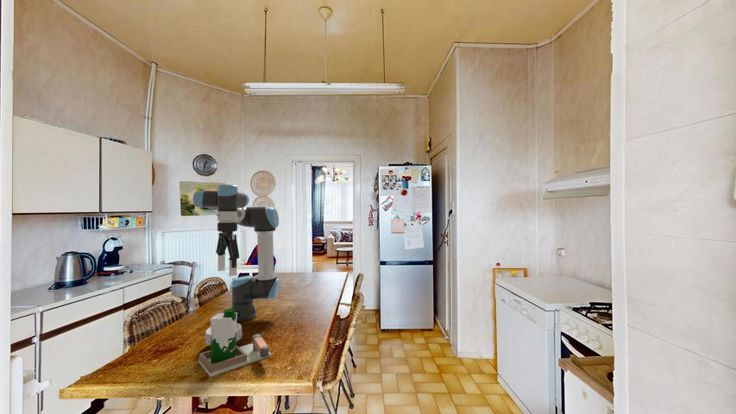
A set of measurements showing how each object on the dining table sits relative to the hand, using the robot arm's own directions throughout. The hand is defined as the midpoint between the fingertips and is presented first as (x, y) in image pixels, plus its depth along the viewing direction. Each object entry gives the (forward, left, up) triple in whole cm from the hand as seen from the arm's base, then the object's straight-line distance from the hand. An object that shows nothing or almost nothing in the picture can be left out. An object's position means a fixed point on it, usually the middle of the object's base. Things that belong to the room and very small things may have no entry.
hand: (226, 273), depth 126 cm
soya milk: (0, -1, -35) cm, 35 cm away
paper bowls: (-16, +5, -37) cm, 40 cm away
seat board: (+1, +4, -36) cm, 36 cm away
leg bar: (+7, +11, -32) cm, 35 cm away
